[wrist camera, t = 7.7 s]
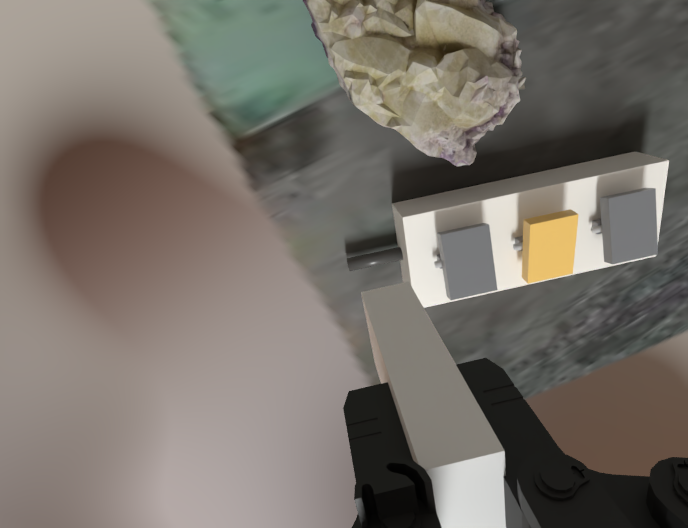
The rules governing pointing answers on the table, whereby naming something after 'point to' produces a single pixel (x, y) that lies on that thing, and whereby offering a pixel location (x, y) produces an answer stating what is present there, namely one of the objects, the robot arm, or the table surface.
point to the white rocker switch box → (514, 219)
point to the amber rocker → (549, 245)
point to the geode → (424, 67)
